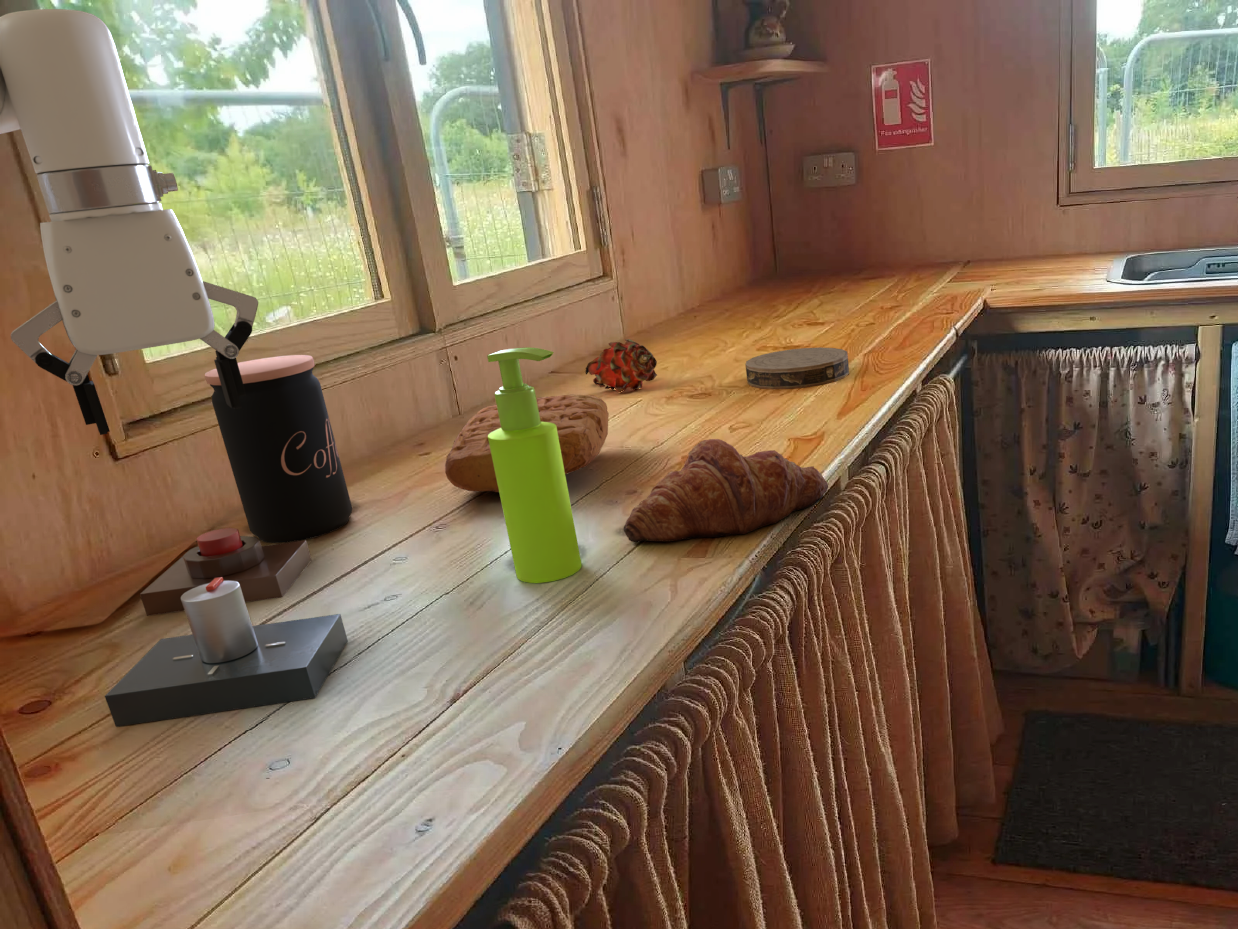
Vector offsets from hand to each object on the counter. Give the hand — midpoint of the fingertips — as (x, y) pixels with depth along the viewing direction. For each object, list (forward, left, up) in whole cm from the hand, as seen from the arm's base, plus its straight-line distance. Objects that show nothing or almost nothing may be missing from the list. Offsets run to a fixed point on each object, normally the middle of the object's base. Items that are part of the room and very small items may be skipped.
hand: (171, 418), depth 88 cm
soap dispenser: (+28, +2, -18) cm, 33 cm away
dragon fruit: (+34, +82, -18) cm, 90 cm away
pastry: (+45, +10, -18) cm, 49 cm away
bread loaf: (+24, +36, -18) cm, 47 cm away
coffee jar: (-1, +27, -18) cm, 33 cm away
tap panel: (+5, -13, -18) cm, 23 cm away
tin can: (+61, +75, -18) cm, 98 cm away
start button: (-3, +10, -15) cm, 18 cm away
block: (-3, +10, -18) cm, 21 cm away
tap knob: (+5, -13, -16) cm, 21 cm away
